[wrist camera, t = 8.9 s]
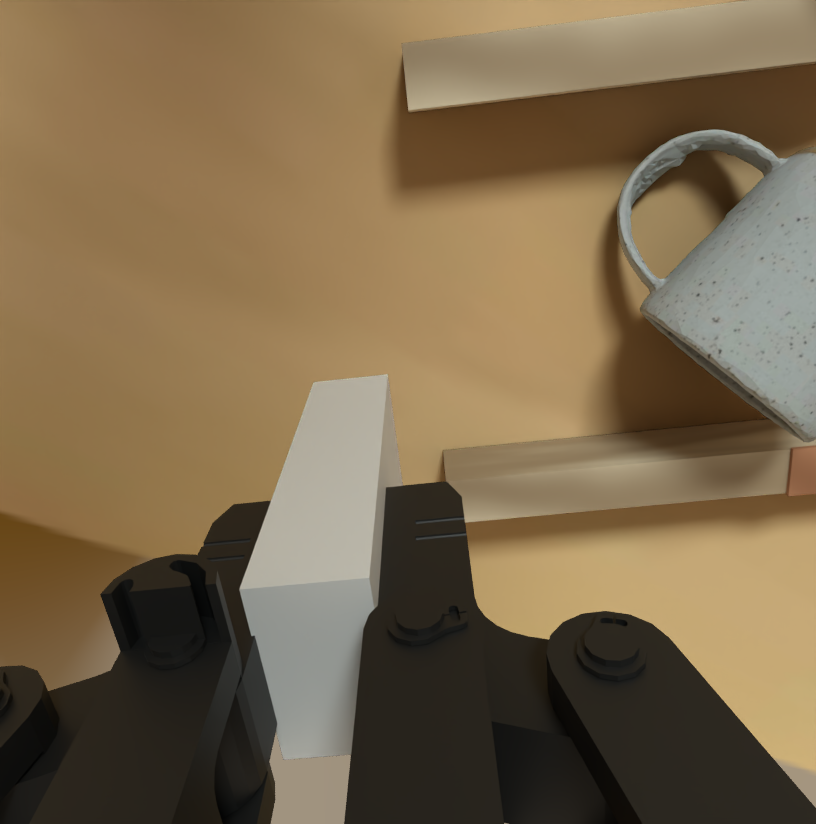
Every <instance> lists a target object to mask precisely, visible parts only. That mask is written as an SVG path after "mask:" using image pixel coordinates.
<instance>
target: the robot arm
mask: <svg viewBox="0 0 816 824" xmlns="http://www.w3.org/2000/svg"><path fill="white" fill-rule="evenodd" d="M101 597H102V600H103V603H104V606H105V609H106V612H107V614H108V617H109V620H110V623H111V626H112V628H113V631H114V634H115V637H116V640H117V642H118V645H119V648H120V651H121V652H120V654H119V656H118V658H117V660H116V661H115V663H114V665H113V667H112V669H111V671H108V672H106V673H103V674H101V675H98V676H96V677H92V678H89V679H86V680H83V681H80V682H76V683H73V684H70V685H67V686H64V687H61V688H58V689H54V690H51V691H48V690H47V688H46V685H45V683H44V681H43V679H42V678H41V676H40V675H39V673H38V671H37V670H34V669H31V668H28V667H25V666H5V667H0V824H270V823H271V818H272V813H273V808H274V803H275V781H274V778H273V774H272V770H271V767H270V763H269V760H270V755H271V750H272V746H273V742H274V737H275V733H277V737H278V741H279V745H280V749H281V753H282V756H283V760H289V759H301V758H314V757H327V756H340V755H351V761H350V772H349V781H348V792H347V802H346V812H345V822H344V824H504V823H509V824H816V808H815V807H814V806H813V804H812V803H811V802H810V801H809V800H808V799H807V797H806V796H805V795H804V794H803V793H802V792H801V790H800V789H799V788H798V787H797V786H796V785H795V784H794V782H793V781H792V780H791V779H790V778H789V776H788V775H787V774H786V773H785V772H784V771H783V770H782V768H781V767H780V766H779V765H778V764H777V763H776V761H775V760H774V759H773V758H772V757H771V756H770V754H769V753H768V752H767V751H766V750H765V749H764V747H763V746H762V745H761V744H760V743H759V742H758V740H757V739H756V738H755V737H754V736H753V735H752V733H751V732H750V731H749V730H748V729H747V728H746V727H745V725H744V724H743V723H742V722H741V721H740V720H739V718H738V717H737V716H736V715H735V714H734V713H733V711H732V710H731V709H730V708H729V707H728V706H727V704H726V703H725V702H724V701H723V700H722V699H721V697H720V696H719V695H718V694H717V693H716V692H715V690H714V689H713V688H712V687H711V686H710V685H709V684H708V682H707V681H706V680H705V679H704V678H703V677H702V675H701V674H700V673H699V672H698V671H697V670H696V668H695V667H694V666H693V665H692V664H691V663H690V661H689V660H688V659H687V658H686V657H685V656H684V654H683V653H682V652H681V651H680V650H679V649H678V648H677V646H676V645H675V644H674V643H673V642H672V641H671V639H670V638H669V637H667V636H666V635H665V634H664V633H663V632H661V631H660V630H659V629H658V628H656V627H655V626H654V625H653V624H651V623H649V622H646V621H644V620H642V619H639V618H637V617H634V616H632V615H629V614H622V613H615V612H608V611H602V612H593V613H585V614H581V615H578V616H576V617H574V618H572V619H569V620H567V621H565V622H563V623H562V624H561V625H560V626H559V627H558V628H557V629H556V630H555V631H554V632H553V633H552V634H551V635H550V639H549V640H547V639H541V638H535V637H528V636H524V635H520V634H516V633H512V632H510V631H508V630H505V629H503V628H501V627H499V626H497V625H495V624H494V623H493V622H491V621H490V620H489V619H487V618H486V617H485V616H484V614H483V613H482V612H481V610H480V609H479V608H478V606H477V603H476V600H475V597H474V589H473V581H472V574H471V566H470V558H469V550H468V542H467V535H466V526H465V519H464V510H463V503H462V496H461V495H460V494H459V493H458V492H457V491H456V490H455V489H454V488H453V487H452V486H451V485H450V484H449V483H448V482H447V481H446V482H436V483H426V484H415V485H405V486H403V483H402V476H401V468H400V461H399V454H398V446H397V439H396V431H395V424H394V416H393V409H392V402H391V394H390V387H389V379H388V374H386V375H376V376H367V377H357V378H348V379H338V380H329V381H320V382H314V383H313V385H312V388H311V391H310V394H309V396H308V399H307V402H306V405H305V408H304V410H303V413H302V416H301V419H300V422H299V424H298V427H297V430H296V433H295V436H294V438H293V441H292V444H291V447H290V450H289V452H288V455H287V458H286V461H285V463H284V466H283V469H282V472H281V475H280V477H279V480H278V483H277V486H276V489H275V491H274V494H273V497H272V500H271V501H264V502H254V503H243V504H234V505H232V506H231V507H230V508H229V509H228V510H227V511H226V512H225V513H223V514H222V515H221V516H220V517H219V518H218V519H217V520H216V521H215V522H213V524H212V526H211V528H210V530H209V532H208V534H207V537H206V539H205V541H204V547H201V549H200V551H199V553H198V555H186V554H175V555H170V556H165V557H160V558H155V559H152V560H150V561H147V562H145V563H143V564H140V565H138V566H135V567H133V568H131V569H129V570H128V571H126V572H125V573H123V574H122V575H120V576H119V577H117V578H116V579H114V580H113V581H112V582H111V583H110V584H109V586H108V587H107V588H106V589H105V590H104V591H103V592H102V593H101Z"/></svg>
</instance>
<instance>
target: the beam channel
mask: <svg viewBox="0 0 816 824" xmlns="http://www.w3.org/2000/svg"><path fill="white" fill-rule="evenodd" d="M402 53H403V63H404V73H405V82H406V92H407V102H408V111H409V112H418V111H426V110H434V109H442V108H451V107H459V106H467V105H476V104H484V103H492V102H501V101H509V100H517V99H526V98H534V97H542V96H551V95H559V94H567V93H576V92H584V91H592V90H601V89H609V88H617V87H625V86H634V85H642V84H650V83H659V82H667V81H675V80H684V79H692V78H700V77H709V76H717V75H725V74H734V73H742V72H750V71H759V70H767V69H775V68H783V67H792V66H800V65H808V64H816V0H745V1H737V2H729V3H721V4H713V5H705V6H697V7H689V8H681V9H673V10H665V11H657V12H649V13H641V14H633V15H625V16H617V17H609V18H601V19H593V20H585V21H577V22H569V23H561V24H553V25H545V26H537V27H529V28H521V29H513V30H505V31H497V32H489V33H481V34H473V35H465V36H457V37H449V38H441V39H433V40H425V41H417V42H409V43H402ZM443 455H444V466H445V477H446V481H447V482H448V483H449V484H450V485H451V486H452V487H453V488H454V489H455V490H456V491H457V492H458V493H459V494H460V495H461V496H462V503H463V510H464V519H465V523H466V522H477V521H488V520H499V519H509V518H520V517H531V516H542V515H553V514H564V513H575V512H586V511H597V510H607V509H618V508H629V507H640V506H651V505H662V504H673V503H684V502H695V501H706V500H716V499H727V498H738V497H749V496H760V495H771V494H782V493H786V494H787V495H788V496H797V495H808V494H816V440H814V441H812V442H803V441H801V440H800V439H798V438H797V437H795V436H793V435H792V434H790V433H789V432H788V431H786V430H785V429H783V428H781V427H780V426H779V425H778V424H776V423H774V422H773V421H772V420H771V419H763V420H752V421H742V422H732V423H721V424H711V425H701V426H690V427H680V428H670V429H659V430H649V431H639V432H628V433H618V434H608V435H597V436H587V437H577V438H566V439H556V440H546V441H535V442H525V443H515V444H504V445H494V446H484V447H473V448H463V449H453V450H443Z"/></svg>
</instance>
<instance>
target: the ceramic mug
mask: <svg viewBox="0 0 816 824" xmlns="http://www.w3.org/2000/svg"><path fill="white" fill-rule="evenodd" d="M695 150H718V151H722V152H725V153H727V154H728V155H734V156H736V157H738V158H740V159H742V160H744V161H746V162H748V163H750V164H752V165H753V166H754V167H756V168H757V169H759V170H760V171H761V172H762V173H763V175H764V178H763V179H762V180H761V181H760V182H759V183H758V184H757V185H756V186H755V187H754V188H753V189H752V190H751V191H750V192H748V193H747V194H746V196H745V197H744V198H743V199H742V200H741V201H740V202H739V203H738V204H737V205H736V206H735V207H734V208H733V209H732V210H731V211H730V212H729V213H727V214H726V217H725V219H724V220H723V221H722V222H721V223H720V224H719V225H718V226H717V227H716V228H715V229H714V230H713V232H712V233H711V234H709V235H708V236H707V237H706V238H705V239H704V240H703V241H702V242H701V243H700V244H699V245H697V246H696V247H695V248H694V249H693V250H692V251H691V252H690V253H689V254H688V255H687V257H686V258H685V259H683V260H682V261H681V263H680V264H679V265H678V266H677V267H676V268H675V269H674V270H673V271H672V272H671V273H670V274H669V276H667V277H666V278H665V279H659V278H657V277H655V276H654V275H653V274H652V272H651V271H650V270H649V269H648V268H647V266H646V264H645V262H644V261H643V259H642V257H641V255H640V253H639V251H638V249H637V247H636V245H635V243H634V241H633V237H632V234H631V220H630V216H631V214H632V212H631V207H632V205H633V203H634V202H635V200H636V199H637V198H638V197H639V196H641V195H642V194H643V193H644V192H645V191H646V190H647V189H648V188H649V186H650V185H651V184H652V183H653V182H655V181H656V180H657V179H658V178H659V177H660V176H661V175H663V174H664V173H665V172H666V171H668V170H669V169H670V168H673V167H676V166H680V165H681V163H682V162H683V161H684V160H685V158H686V156H687V154H689V153H691V152H693V151H695ZM617 227H618V236H619V240H620V243H621V246H622V249H623V252H624V255H625V256H626V258H627V260H628V261H629V263H630V265H631V267H632V268H633V270H634V271H635V272H636V274H637V275H638V277H639V278H640V280H641V281H642V282H643V283H644V284H645V285H646V286H647V287H648V288H649V291H650V294H649V296H648V297H647V298H646V299H645V300H644V302H643V303H642V305H641V307H640V311H641V313H642V314H643V315H644V316H645V318H646V319H647V320H649V321H650V323H651V324H652V325H654V326H655V327H656V328H657V329H658V331H660V332H661V333H663V334H664V335H665V336H666V337H668V338H669V339H670V340H671V341H672V342H673V343H674V344H675V345H676V346H677V347H678V348H680V349H681V350H682V351H683V352H685V353H686V354H687V355H688V356H689V357H691V358H692V359H693V360H694V361H695V362H696V363H697V364H698V365H700V366H701V367H703V368H704V369H705V370H706V371H707V372H709V373H710V374H711V375H713V376H714V377H715V378H717V379H718V380H719V381H720V382H722V383H723V384H724V385H725V386H726V387H728V388H729V389H730V390H731V391H733V392H734V393H736V394H737V395H738V396H739V397H740V398H742V399H743V400H744V401H745V402H746V403H748V404H749V405H751V406H752V407H754V408H755V409H757V410H758V411H759V412H761V413H762V414H763V415H764V416H766V417H767V418H769V419H771V420H772V421H773V422H774V423H776V424H778V425H779V426H780V427H781V428H783V429H785V430H786V431H788V432H789V433H790V434H792V435H793V436H795V437H797V438H798V439H800V440H801V441H803V442H812V441H814V440H816V147H809V148H806V149H804V150H801V151H798V152H797V153H795V154H793V155H792V156H790V157H788V158H787V159H781V158H777V157H776V155H775V154H774V153H773V152H772V151H770V150H769V149H767V148H766V147H764V146H763V145H762V144H761V143H760V142H757V141H754V140H752V139H750V138H748V137H746V136H744V135H741V134H737V133H733V132H729V131H725V130H716V129H713V130H704V131H697V132H691V133H688V134H685V135H681V136H678V137H676V138H673V139H671V140H669V141H668V142H667V143H665V144H663V145H661V146H660V147H658V148H657V149H656V150H655V151H654V152H652V153H651V154H650V155H648V156H647V157H646V158H645V159H644V160H643V161H642V162H641V163H640V164H639V165H638V166H637V167H636V168H635V169H634V171H633V172H632V174H631V175H630V177H629V178H628V180H627V181H626V182H625V184H624V186H623V188H622V190H621V194H620V198H619V202H618V206H617Z"/></svg>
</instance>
